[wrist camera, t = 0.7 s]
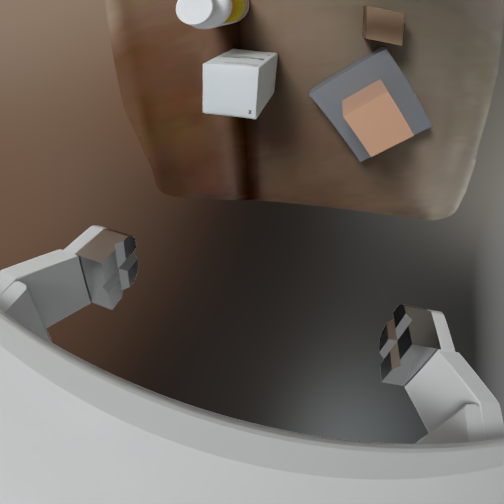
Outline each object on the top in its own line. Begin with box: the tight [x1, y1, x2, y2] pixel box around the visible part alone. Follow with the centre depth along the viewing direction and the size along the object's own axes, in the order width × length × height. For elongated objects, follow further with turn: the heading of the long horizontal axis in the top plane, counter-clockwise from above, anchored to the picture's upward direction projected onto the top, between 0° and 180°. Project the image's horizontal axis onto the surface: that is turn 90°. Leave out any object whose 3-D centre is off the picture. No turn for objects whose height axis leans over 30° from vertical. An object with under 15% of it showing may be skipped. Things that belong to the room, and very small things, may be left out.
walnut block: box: [363, 6, 405, 46], centre depth 28 cm, size 5×5×5 cm
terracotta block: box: [342, 79, 414, 157], centre depth 36 cm, size 7×7×7 cm
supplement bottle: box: [176, 0, 249, 29], centre depth 29 cm, size 7×7×13 cm
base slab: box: [309, 46, 432, 162], centre depth 39 cm, size 14×14×3 cm
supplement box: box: [203, 49, 278, 119], centre depth 37 cm, size 7×7×13 cm
